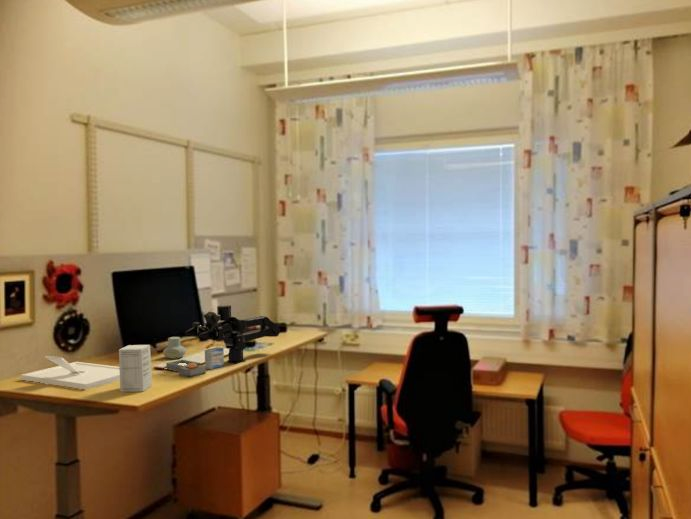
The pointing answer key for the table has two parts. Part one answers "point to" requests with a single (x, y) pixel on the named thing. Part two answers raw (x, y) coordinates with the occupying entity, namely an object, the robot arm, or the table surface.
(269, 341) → the table surface
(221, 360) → the medicine box
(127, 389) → the supplement box
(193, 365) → the button
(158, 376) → the table surface
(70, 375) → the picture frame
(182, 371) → the button housing
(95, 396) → the table surface
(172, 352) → the air freshener
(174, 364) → the grey square tray
